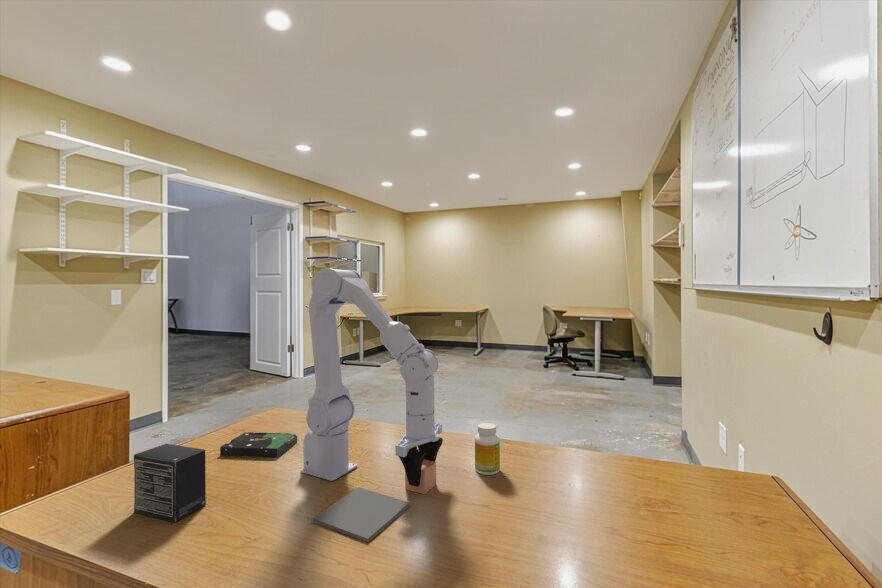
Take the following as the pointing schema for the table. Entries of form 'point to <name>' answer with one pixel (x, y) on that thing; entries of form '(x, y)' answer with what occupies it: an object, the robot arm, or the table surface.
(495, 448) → the supplement bottle
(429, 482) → the cube
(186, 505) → the small box
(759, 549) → the table surface
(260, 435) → the disk drive
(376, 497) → the mat
